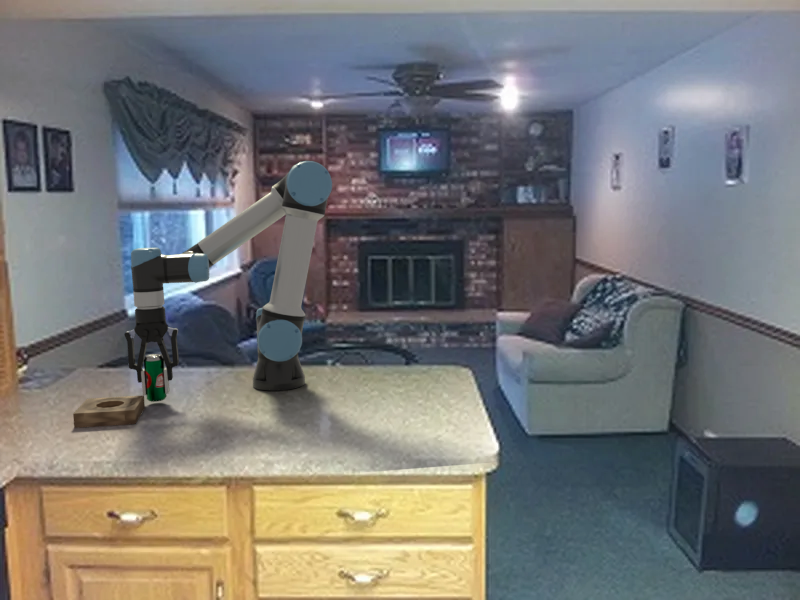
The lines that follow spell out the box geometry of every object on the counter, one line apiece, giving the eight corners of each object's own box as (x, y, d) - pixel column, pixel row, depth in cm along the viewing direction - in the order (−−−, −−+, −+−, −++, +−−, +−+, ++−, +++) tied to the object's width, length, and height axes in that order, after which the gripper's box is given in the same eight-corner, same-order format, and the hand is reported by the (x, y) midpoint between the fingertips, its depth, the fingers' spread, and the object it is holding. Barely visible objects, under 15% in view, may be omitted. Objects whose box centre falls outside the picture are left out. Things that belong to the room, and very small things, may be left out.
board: (144, 408, 191) (144, 395, 191) (135, 424, 178) (134, 410, 177) (88, 411, 189) (87, 398, 188) (74, 427, 175) (73, 413, 175)
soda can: (160, 402, 193) (157, 357, 191) (143, 401, 194) (139, 357, 192) (170, 397, 198) (167, 353, 196) (153, 396, 199) (149, 353, 197)
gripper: (186, 303, 198) (192, 387, 201) (116, 306, 194) (123, 392, 197) (183, 306, 190) (190, 394, 193) (110, 310, 187) (118, 399, 190)
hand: (156, 393), depth 195 cm, fingers closed on soda can, 5 cm apart
